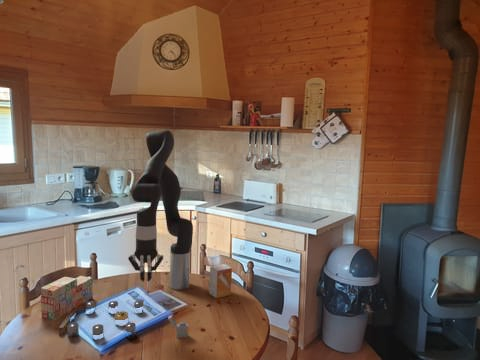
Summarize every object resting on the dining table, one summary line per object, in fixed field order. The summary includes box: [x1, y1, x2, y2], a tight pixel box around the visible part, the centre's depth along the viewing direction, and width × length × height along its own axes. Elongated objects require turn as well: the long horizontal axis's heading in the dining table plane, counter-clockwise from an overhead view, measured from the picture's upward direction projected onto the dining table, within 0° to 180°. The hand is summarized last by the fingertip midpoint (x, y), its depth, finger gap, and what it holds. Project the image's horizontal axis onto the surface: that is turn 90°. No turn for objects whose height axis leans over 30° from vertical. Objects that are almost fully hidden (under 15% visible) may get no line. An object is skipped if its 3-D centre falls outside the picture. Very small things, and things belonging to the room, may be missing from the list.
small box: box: [208, 263, 233, 299], centre depth 170 cm, size 8×6×13 cm
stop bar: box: [58, 307, 78, 335], centre depth 140 cm, size 2×15×2 cm, turn 6°
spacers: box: [66, 300, 144, 339], centre depth 141 cm, size 24×22×4 cm
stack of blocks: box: [40, 275, 94, 321], centre depth 152 cm, size 21×6×12 cm, turn 161°
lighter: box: [167, 314, 189, 339], centre depth 134 cm, size 7×2×8 cm, turn 100°
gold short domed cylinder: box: [114, 311, 129, 321], centre depth 142 cm, size 5×5×4 cm
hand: (145, 280), depth 141 cm, fingers closed
